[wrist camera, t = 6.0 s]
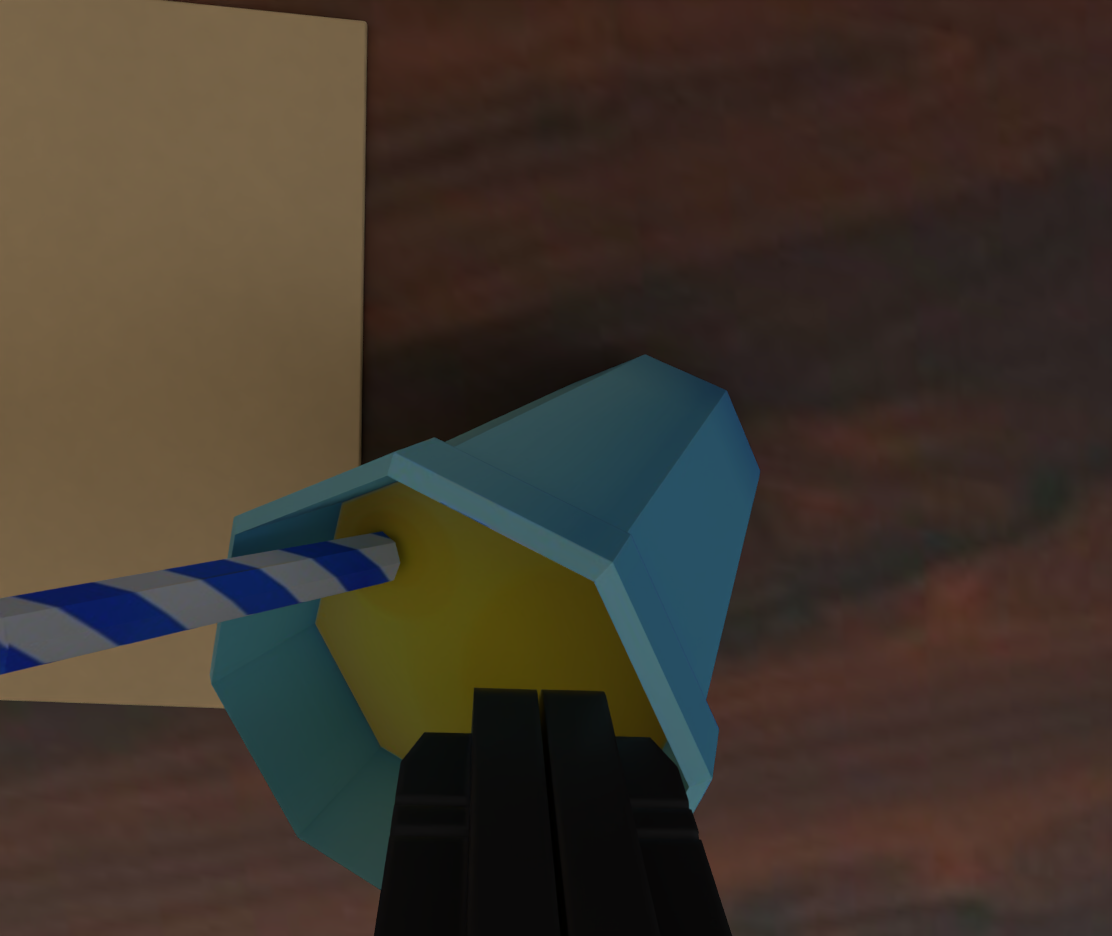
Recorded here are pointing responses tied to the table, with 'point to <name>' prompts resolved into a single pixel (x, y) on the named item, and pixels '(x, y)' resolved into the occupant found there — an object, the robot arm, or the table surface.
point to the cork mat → (170, 299)
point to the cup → (455, 594)
